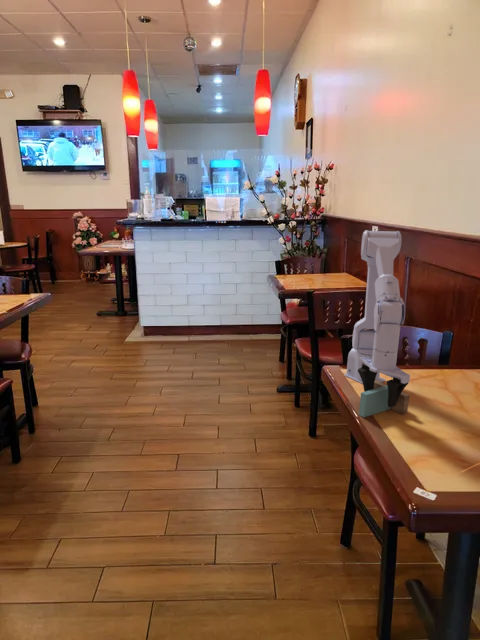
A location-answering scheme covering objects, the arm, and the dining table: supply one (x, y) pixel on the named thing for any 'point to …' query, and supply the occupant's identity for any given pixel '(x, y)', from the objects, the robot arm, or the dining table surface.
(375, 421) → the dining table surface
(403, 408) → the walnut slotted plate
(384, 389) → the teal slotted plate
